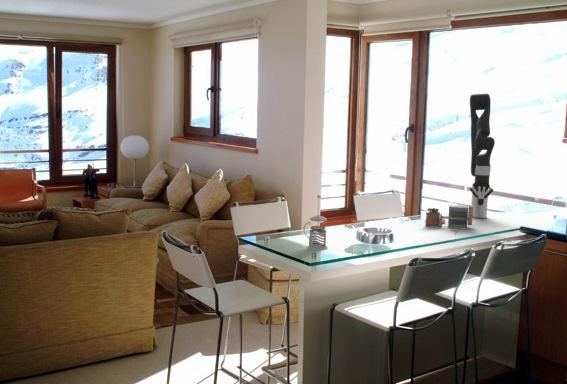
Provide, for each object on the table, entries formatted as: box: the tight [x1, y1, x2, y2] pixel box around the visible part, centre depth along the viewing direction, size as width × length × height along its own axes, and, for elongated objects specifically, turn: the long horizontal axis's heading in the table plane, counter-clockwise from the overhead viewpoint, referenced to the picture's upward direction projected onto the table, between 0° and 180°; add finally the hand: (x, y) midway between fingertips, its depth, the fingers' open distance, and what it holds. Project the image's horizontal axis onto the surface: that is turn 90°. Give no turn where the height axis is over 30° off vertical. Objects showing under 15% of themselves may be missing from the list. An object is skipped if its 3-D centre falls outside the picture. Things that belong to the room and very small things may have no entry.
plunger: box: [439, 204, 474, 227], centre depth 366 cm, size 6×17×12 cm, turn 77°
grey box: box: [447, 204, 469, 230], centre depth 366 cm, size 7×10×12 cm, turn 77°
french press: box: [303, 194, 329, 251], centre depth 310 cm, size 10×12×25 cm
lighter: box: [425, 207, 441, 227], centre depth 368 cm, size 8×3×10 cm, turn 100°
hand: (480, 205), depth 362 cm, fingers closed
